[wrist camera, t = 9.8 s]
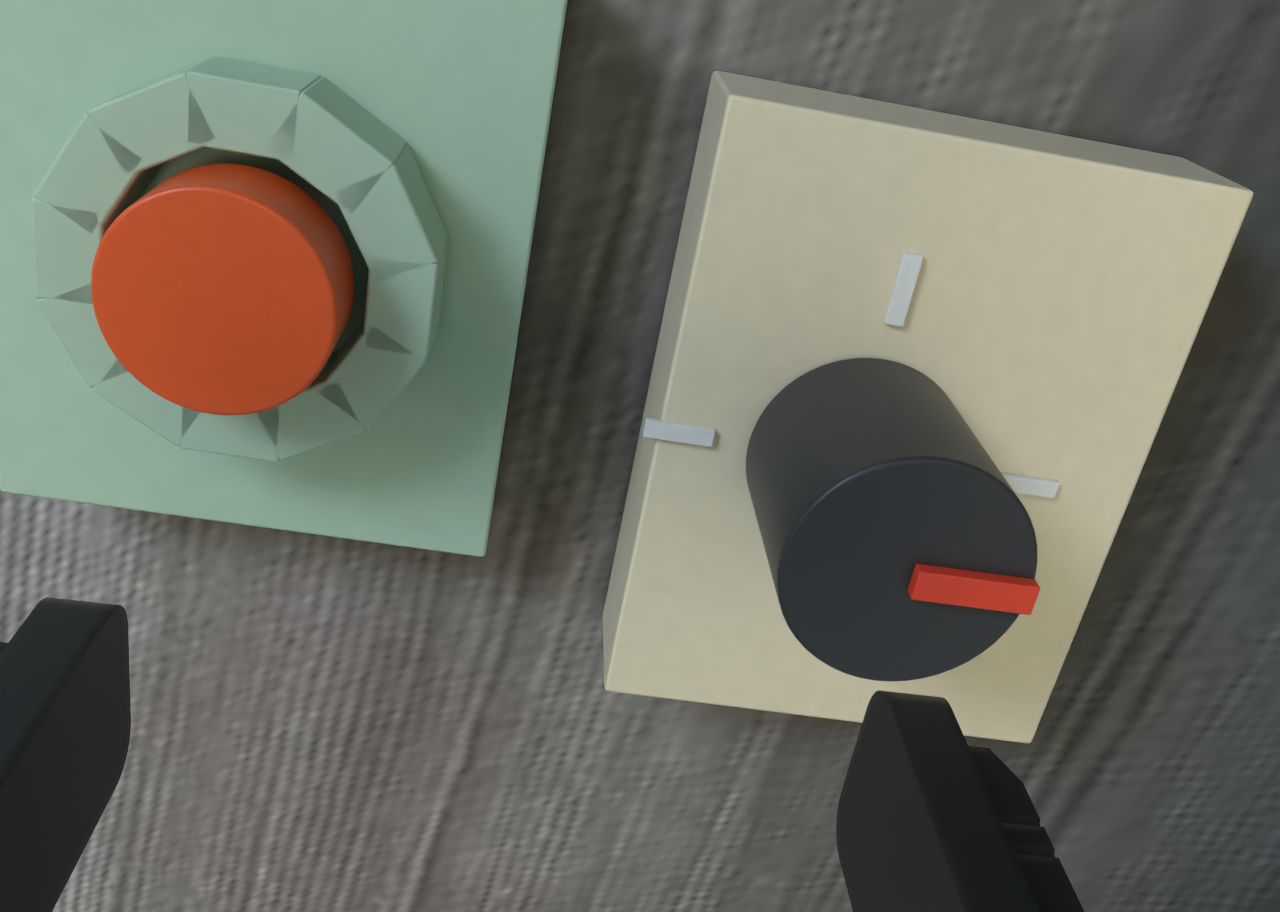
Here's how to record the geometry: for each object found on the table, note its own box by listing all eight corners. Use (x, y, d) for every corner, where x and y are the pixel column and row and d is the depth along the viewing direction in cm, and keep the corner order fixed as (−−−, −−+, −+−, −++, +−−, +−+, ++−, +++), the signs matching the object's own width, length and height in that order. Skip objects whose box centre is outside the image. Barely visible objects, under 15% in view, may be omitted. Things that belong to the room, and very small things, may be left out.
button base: (22, -149, 21) (-92, -154, 18) (573, -42, 23) (571, -26, 19) (42, 447, 27) (-43, 536, 23) (492, 510, 28) (478, 604, 24)
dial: (725, 538, 25) (754, 678, 20) (771, 340, 23) (815, 448, 19) (928, 565, 25) (999, 707, 21) (990, 373, 23) (1082, 486, 19)
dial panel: (697, 66, 24) (712, 92, 21) (1184, 157, 25) (1261, 193, 22) (589, 614, 29) (590, 695, 26) (991, 667, 30) (1033, 750, 27)
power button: (126, 142, 20) (87, 165, 19) (364, 184, 21) (346, 209, 19) (126, 361, 22) (90, 399, 20) (347, 394, 22) (328, 433, 21)
